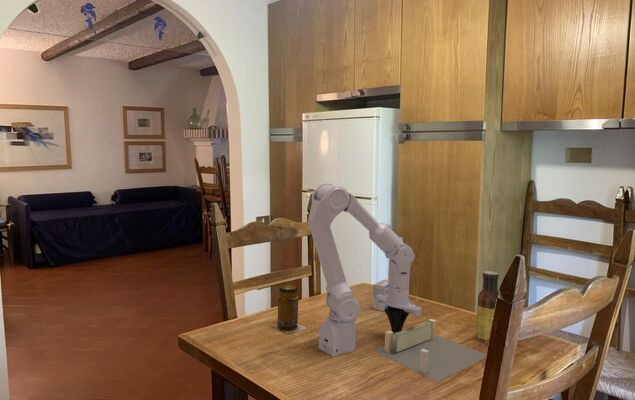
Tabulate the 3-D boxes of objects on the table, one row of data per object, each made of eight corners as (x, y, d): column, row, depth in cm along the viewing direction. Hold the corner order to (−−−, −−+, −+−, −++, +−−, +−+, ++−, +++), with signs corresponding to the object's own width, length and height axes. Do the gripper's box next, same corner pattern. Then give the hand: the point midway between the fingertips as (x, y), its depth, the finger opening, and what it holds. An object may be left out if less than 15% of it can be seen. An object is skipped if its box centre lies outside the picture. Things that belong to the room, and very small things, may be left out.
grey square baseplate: (437, 384, 105) (439, 359, 104) (373, 353, 120) (374, 331, 119) (489, 358, 119) (491, 336, 118) (426, 333, 134) (427, 313, 133)
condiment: (290, 320, 143) (291, 282, 141) (307, 328, 136) (308, 289, 135) (270, 325, 138) (271, 286, 137) (287, 334, 131) (287, 294, 130)
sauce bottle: (501, 348, 125) (505, 276, 123) (477, 345, 126) (481, 275, 124) (496, 338, 131) (501, 270, 129) (473, 336, 133) (477, 269, 130)
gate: (393, 353, 118) (394, 336, 117) (390, 351, 119) (390, 334, 118) (430, 339, 128) (431, 322, 127) (426, 337, 129) (427, 321, 128)
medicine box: (383, 312, 151) (384, 286, 151) (372, 309, 154) (373, 283, 153) (395, 305, 158) (396, 281, 157) (383, 303, 160) (384, 278, 159)
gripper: (429, 289, 122) (427, 338, 124) (388, 277, 133) (386, 322, 135) (412, 294, 118) (410, 345, 119) (371, 281, 129) (369, 328, 130)
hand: (396, 333), depth 127 cm, fingers closed
